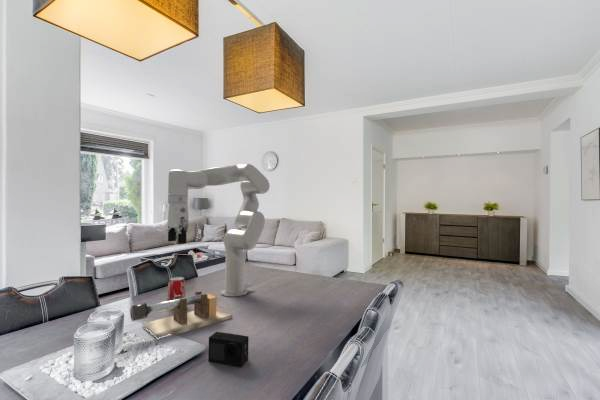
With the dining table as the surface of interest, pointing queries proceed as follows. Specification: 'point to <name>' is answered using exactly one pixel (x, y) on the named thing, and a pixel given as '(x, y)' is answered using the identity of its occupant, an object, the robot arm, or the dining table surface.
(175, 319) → the rig
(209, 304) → the block
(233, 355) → the digital camera
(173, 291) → the soda can
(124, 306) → the dining table surface
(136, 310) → the shaft
